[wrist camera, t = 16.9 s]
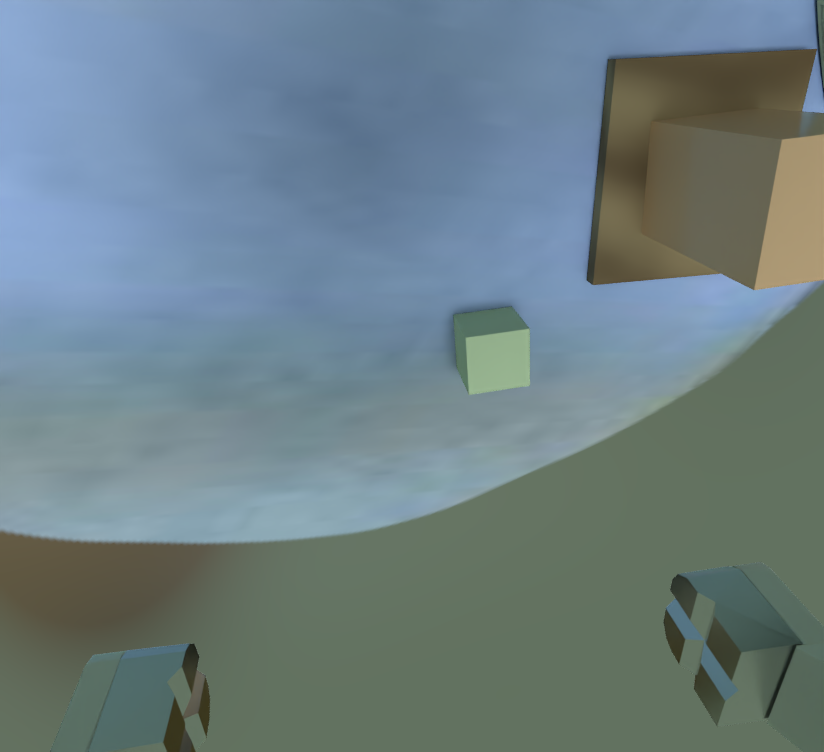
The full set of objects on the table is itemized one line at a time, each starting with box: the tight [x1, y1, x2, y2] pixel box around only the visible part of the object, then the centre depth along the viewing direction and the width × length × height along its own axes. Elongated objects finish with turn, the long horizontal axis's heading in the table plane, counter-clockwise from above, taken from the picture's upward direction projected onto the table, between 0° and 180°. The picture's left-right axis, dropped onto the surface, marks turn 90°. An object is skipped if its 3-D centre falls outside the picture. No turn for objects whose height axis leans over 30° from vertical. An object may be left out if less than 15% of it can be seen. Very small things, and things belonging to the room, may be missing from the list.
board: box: [587, 49, 817, 285], centre depth 36 cm, size 13×12×1 cm
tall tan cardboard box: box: [642, 108, 824, 290], centre depth 31 cm, size 7×7×11 cm
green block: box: [453, 307, 530, 395], centre depth 38 cm, size 4×4×4 cm
